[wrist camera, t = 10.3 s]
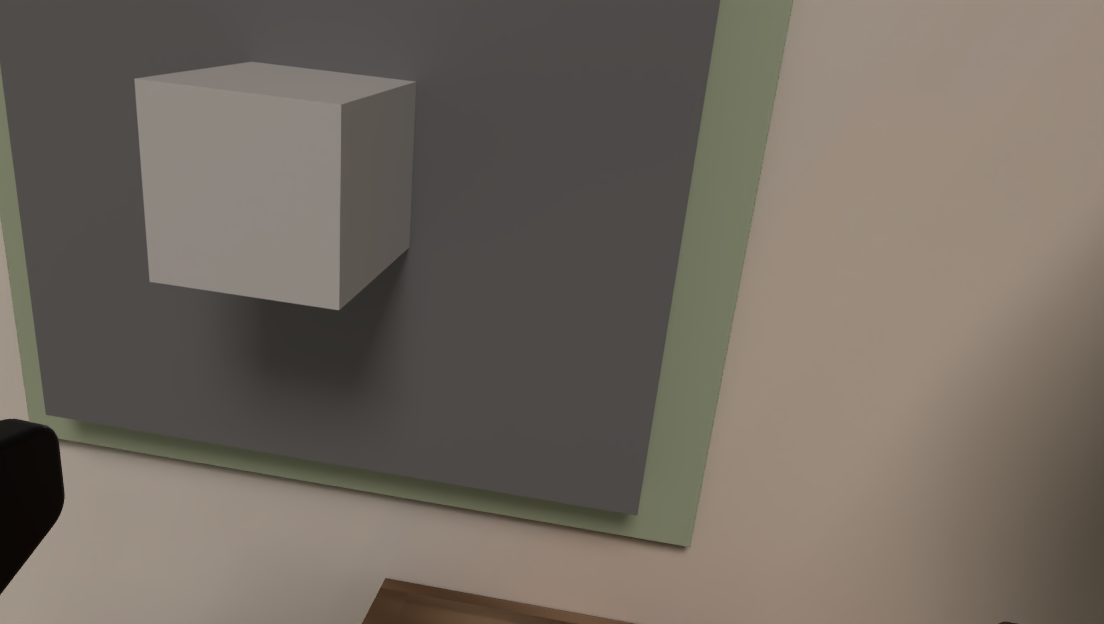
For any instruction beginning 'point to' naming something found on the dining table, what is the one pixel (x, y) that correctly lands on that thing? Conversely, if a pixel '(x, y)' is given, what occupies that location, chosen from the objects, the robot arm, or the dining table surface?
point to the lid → (362, 225)
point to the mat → (692, 335)
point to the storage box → (461, 608)
